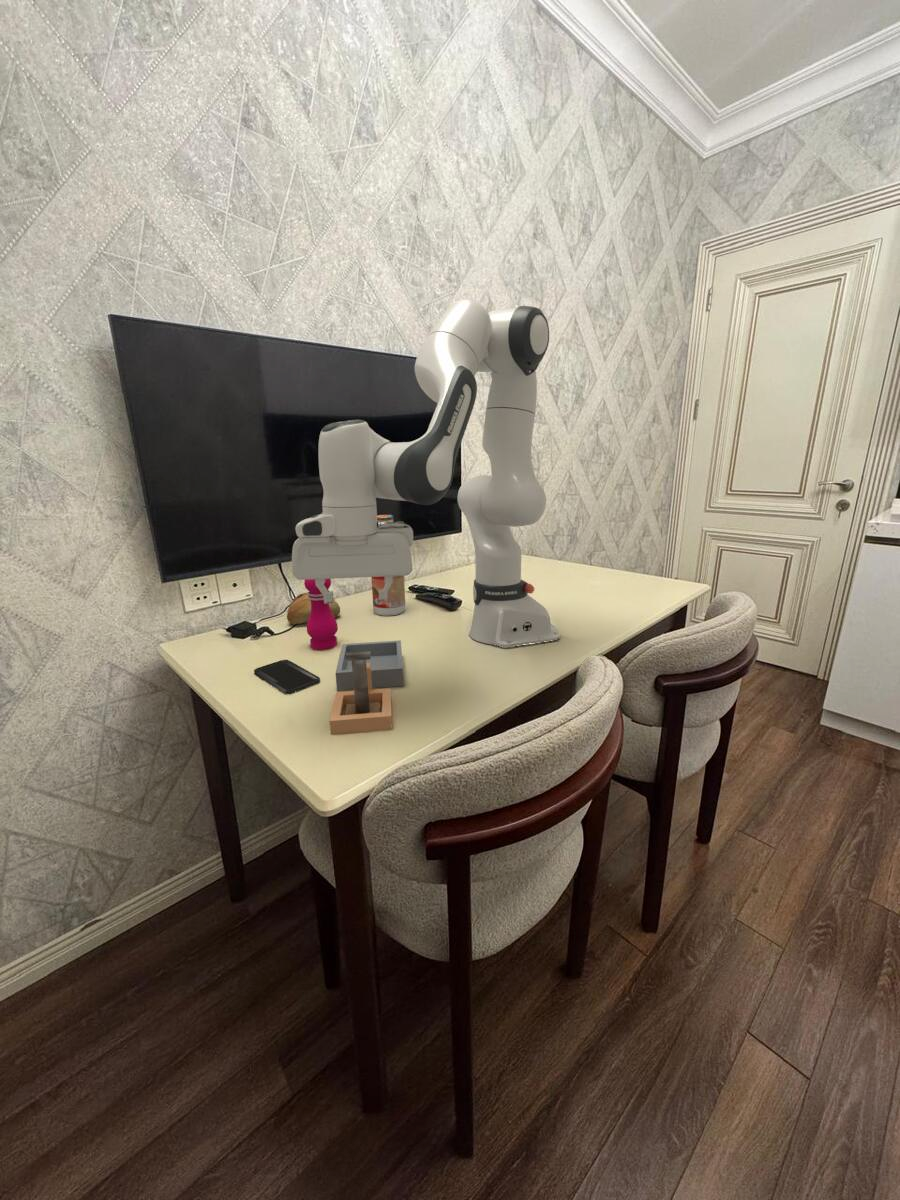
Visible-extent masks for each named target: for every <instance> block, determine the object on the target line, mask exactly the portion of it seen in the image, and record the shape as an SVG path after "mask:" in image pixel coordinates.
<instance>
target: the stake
mask: <svg viewBox="0 0 900 1200" xmlns="http://www.w3.org/2000/svg"><path fill="white" fill-rule="evenodd" d="M368 659H371V654H370V651H364V652H348V653H346V661H352V673H353V685H354V690H353V691H354V697H355V703H354V704H347V705H346V708H345V710H344V715H353V714H365V713H378V712H381V705H380V702H369V695H368V681H367V668H366V660H368Z"/></svg>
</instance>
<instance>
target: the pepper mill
mask: <svg viewBox="0 0 900 1200" xmlns="http://www.w3.org/2000/svg"><path fill="white" fill-rule="evenodd" d="M331 580H332V579H325V583H324V586H325V587H326V589H327V590H328V591H330V590H329V589H330V588H331V585H332V581H331ZM304 587H305V589H306V590H307V591H308V599H310V601H311V613H310V617H309V620H308V622H306V624H307V625H306V633H307V635H308V636H309V637H310V640H309V644H310V648H311V649H313V650H314V651H315V650H316V651H326V649H327V650H330V649H333V648H335V647H337V645H338V638H337V636H336V634H337V632H338V630H339V627H338V621H337V620H336V618H334V616H333V614H332V612H331V610H330V607H329V603H327V604H324V597H323V594H322V593H321V592H320V590H319V589H318V588H317V586H316V582H315V579H307V580H304Z"/></svg>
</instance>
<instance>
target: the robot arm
mask: <svg viewBox="0 0 900 1200" xmlns="http://www.w3.org/2000/svg"><path fill="white" fill-rule="evenodd" d="M549 342H550V327H549V322H548V319H547V317H546V316H545V313H543V311H542V310H541V308H538V307H535V306H530V305H528V306H527V305H520V306H518V307H508V308H500V309H499V308H498V309H492V310H491V311H488V310H487V309H486V307H484V306H483V304H481V303H480V302H478V301H476V300H473V299H470V298H462V299H458V300H456V301H454V302H453V303H452V304H450V306H449V307H448V308H447V309H446V310H445V311H444V312H443V313H442V315H441V316H440V317H439V318H438V320H437V321H436V322H435V324H433V327H432V328H431V329H430V331H429V333H428V335H427V336H426V338H425V339H424V342H423V343H422V345H421V347H420V349H419V351H418V354H417V356H416V358H415V359H416V360H415V362H414V363H415V364H414V373H415V378H416V381H417V383H418V385H419V387H420V388H421V390H422V391H423V392H424V394H425V395H427V397H428V398H429V399H430V400H432V401H433V402H435V403H436V407H435V410H434V412H433V415H432V417H431V420H430V422H429V424H428V428H427V431H426V432H425V433H424V434H423V435H422V436H420V437H419V438H417V439H415V440H412V441H407V442H406V441H403V442H402V441H401V442H399V441H398V442H393V441H390V440H389V439H386V438H384V437H383V436H381V435H380V434H378V433H376V432H375V431H374V430H373V429H372V428H371V427H370V426H369V423H368V422H367V421H365V420H363V419H350V420H344V421H343V420H342V421H336V422H331V423H328V424H326V425H324V426H323V428H321V431H320V434H319V439H318V453H317V454H318V470H319V471H318V472H319V480H320V483H321V485H322V489H323V495H322V496H323V497H322V501H321V503H322V504H321V506H322V512H321V513H320V514H314V515H313V516H311V517H309V518H305V519H303V520H300V522H298V523H297V524H296V525H295V533H296V536H297V537H298V538H297V539H296V540H295V541H294V543H293V545H292V551H291V552H292V553H291V569H292V575H293V576H294V577H295V579H297V580H298V581H302V580H304V581H305V580H307V579H315V582H316V586H317V588H318V589H319V590H320V592H321V593H322V594H323V597H324V604H327V603H333V601H334V599H335V598H334V591H332V590H331V591H330V590H329V589H328V590H329V591H328V590H327V589H326V587H325V586H324V583H325V579H331V580H332V579H352V578H355V579H356V578H371V577H383V576H384V578H385V582H387V583H386V585H385V587H384V589H379V601H387V592H388V590H389V588H390V586H391V584H392V583H393V577H392V576H404V577H405V576H409V575H410V574H411V573H412V572H413V570H414V569H413V560H412V553H411V548H410V547H411V546H412V545H413V543H414V530H413V528H412V527H411V525H409V524H408V523H405V522H404V521H400V520H399V521H393V522H378V521H377V516H378V510H377V498H378V499H384V500H392V501H404V502H409V503H414V504H419V505H422V506H431V505H434V504H435V503H438V502H439V501H441V499H443V497H445V495H446V494H447V493H448V491H449V489H450V487H451V485H452V482H453V477H454V472H455V466H456V460H457V457H458V452H459V450H460V448H461V447H460V446H461V444H462V441H463V438H464V435H465V432H466V430H467V427H468V425H469V421H470V419H471V416H472V413H473V409H474V406H475V402H476V399H477V392H478V385H477V380H476V374H477V373H479V372H480V373H490V376H491V381H490V386H489V390H488V395H487V401H486V405H485V407H486V408H485V413H484V415H485V417H484V424H483V433H482V440H481V441H482V442H481V444H482V445H481V446H482V448H483V451H484V452H485V453H486V454H487V456H488V459H489V461H490V467H491V468H490V469H491V475H486V474H483V475H479V476H474V477H472V478H469V479H467V480H465V481H464V482H463V483H462V484H461V486H460V487H459V489H458V491H457V492H458V493H457V504H458V507H459V509H460V510H461V512H462V513H463V515H464V517H465V519H466V520H467V524H468V527H469V530H470V533H471V536H472V540H473V541H472V542H473V545H474V554H475V556H474V557H475V560H474V561H475V579H474V580H473V587H472V590H473V591H472V593H473V595H472V596H473V598H472V599H473V603H474V609H473V616H472V622H471V625H470V628H469V632H468V635H469V637H470V638H471V639H472V640H474V641H477V642H479V643H483V644H487V645H492V644H494V645H493V646H496V645H497V646H496V647H498V646H500V647H499V648H501V647H502V649H508V648H507V647H511V648H514V647H513V646H517V645H523V644H529V643H537V642H544V641H551V640H557V639H560V638H559V636H560V630H559V629H558V628H557V627H556V626H555V625H554V624H553V623H551V618H550V614H549V612H548V609H547V608H546V607H544V606H543V605H542V604H541V603H540V602H539V601H537V600H536V599H534V598H533V597H532V596H530V595H531V594H533V593H534V592H535V589H536V588H535V586H534V585H532V584H531V583H528V582H527V581H525V580H524V579H522V555H523V554H522V549H521V546H520V545H519V543H518V542H517V540H516V539H515V538H514V536H513V535H514V534H513V533H512V530H511V527H514V528H515V527H525V526H531V525H534V524H535V523H537V522H538V521H539V520H540V519H541V517H542V516H543V515H544V512H545V510H546V507H547V498H546V497H547V495H546V491H545V489H544V488H543V486H542V485H541V484H540V483H539V481H538V479H537V477H536V474H535V471H534V467H533V460H532V459H533V458H532V444H533V443H532V442H533V432H534V423H535V416H536V410H537V409H536V408H537V395H538V393H537V391H538V390H537V389H538V388H537V386H538V385H537V384H538V383H537V369H538V368H539V365H540V363H541V361H542V360H543V359H544V357H545V355H546V352H547V351H548V348H549V347H548V346H549ZM557 641H558V640H557ZM503 647H504V648H503Z"/></svg>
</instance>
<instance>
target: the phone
mask: <svg viewBox="0 0 900 1200" xmlns="http://www.w3.org/2000/svg"><path fill="white" fill-rule="evenodd" d="M253 673H254V676H257V678H259V679H261V680H263V681H264V682H265V681H266V682H265V683H266V684H268V683H269V684H268V685H270V686H271V685H272V687H273V688H274V687H275V689H276V690H277V689H278V692H281V693H282V692H283V693H282V694H283V695H286V694H289V695H293V694H295V692H296V693H297V692H301V691H303V690H305V689H309V688H311V687H314V686H316V685H318V684H320V683H321V677H320V676H318V675H316V674H314V673H313V672H310V671H308V670H307V669H305V668H303V667H302V666H300V665H298V664H296V663H295V662H292V661H290V660H289V659H280V660H279V661H274V662H272V663H269V664H265V665H262V666H259V667H256V668H255V669H254V670H253Z"/></svg>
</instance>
